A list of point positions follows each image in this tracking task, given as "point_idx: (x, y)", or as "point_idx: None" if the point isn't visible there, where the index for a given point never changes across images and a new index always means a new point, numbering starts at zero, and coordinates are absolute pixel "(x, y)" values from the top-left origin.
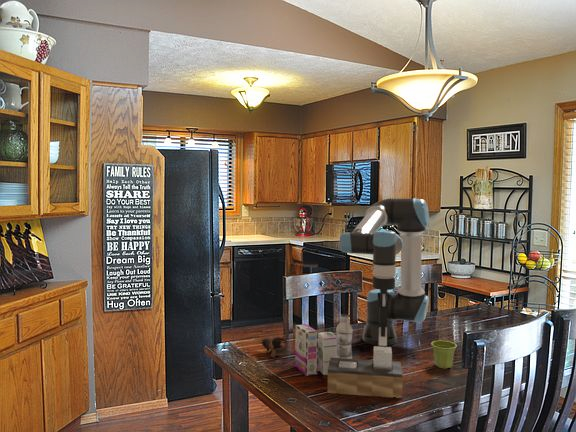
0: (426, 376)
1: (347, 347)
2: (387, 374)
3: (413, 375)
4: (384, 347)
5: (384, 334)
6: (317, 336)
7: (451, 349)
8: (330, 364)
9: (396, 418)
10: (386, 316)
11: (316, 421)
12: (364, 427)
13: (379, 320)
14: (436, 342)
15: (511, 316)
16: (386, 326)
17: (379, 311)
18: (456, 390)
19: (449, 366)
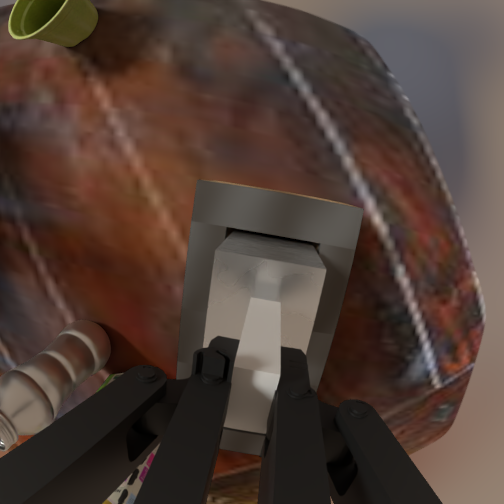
0: (150, 77)
1: (72, 369)
2: (349, 273)
3: (140, 118)
4: (221, 292)
5: (305, 365)
6: (124, 498)
7: None
8: (243, 449)
9: (462, 255)
10: (426, 497)
11: (432, 426)
12: (481, 338)
13: (216, 458)
14: (14, 27)
15: None
16: (367, 409)
17: (111, 493)
18: (271, 12)
19: (95, 8)
